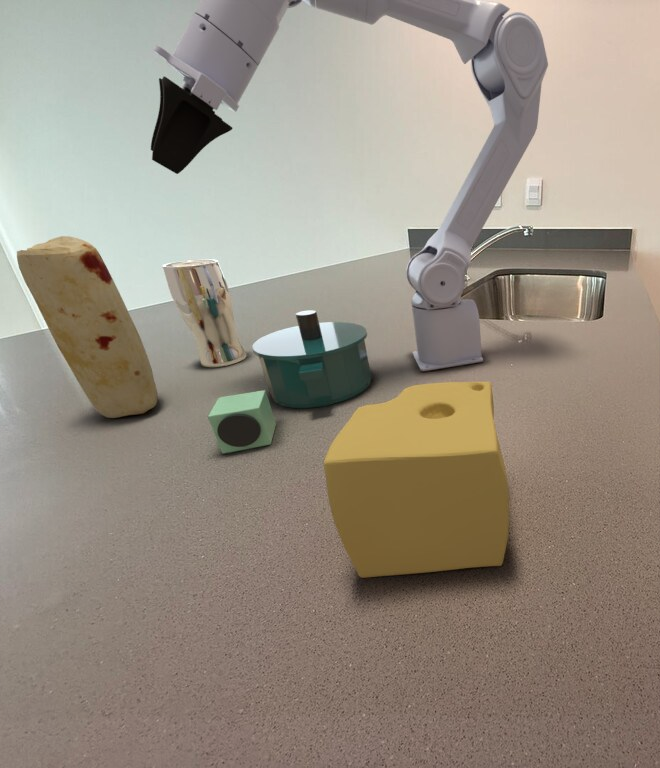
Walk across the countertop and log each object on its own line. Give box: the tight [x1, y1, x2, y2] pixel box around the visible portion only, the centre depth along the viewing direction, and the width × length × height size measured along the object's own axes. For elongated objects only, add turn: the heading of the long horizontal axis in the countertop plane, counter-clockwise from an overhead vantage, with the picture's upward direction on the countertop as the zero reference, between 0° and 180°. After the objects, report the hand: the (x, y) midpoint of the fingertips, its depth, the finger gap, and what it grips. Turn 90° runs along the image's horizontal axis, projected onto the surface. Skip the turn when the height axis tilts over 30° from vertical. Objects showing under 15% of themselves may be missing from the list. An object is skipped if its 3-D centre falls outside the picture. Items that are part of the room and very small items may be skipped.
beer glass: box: [162, 259, 247, 368], centre depth 61 cm, size 7×7×15 cm
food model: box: [16, 235, 159, 419], centre depth 46 cm, size 10×7×20 cm
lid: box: [251, 309, 368, 360], centre depth 52 cm, size 13×13×4 cm
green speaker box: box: [207, 389, 277, 455], centre depth 42 cm, size 5×4×4 cm
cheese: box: [323, 381, 510, 579], centre depth 30 cm, size 10×11×10 cm
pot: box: [258, 339, 372, 409], centre depth 54 cm, size 12×18×6 cm
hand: (163, 161), depth 42 cm, fingers open, 7 cm apart
